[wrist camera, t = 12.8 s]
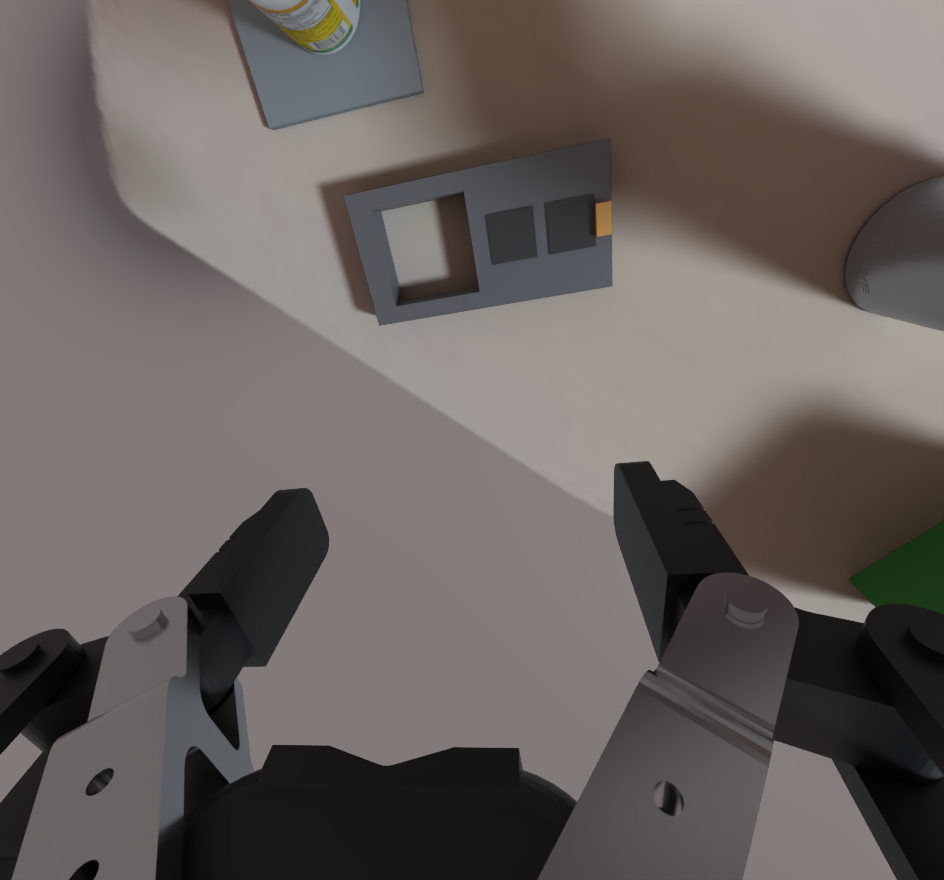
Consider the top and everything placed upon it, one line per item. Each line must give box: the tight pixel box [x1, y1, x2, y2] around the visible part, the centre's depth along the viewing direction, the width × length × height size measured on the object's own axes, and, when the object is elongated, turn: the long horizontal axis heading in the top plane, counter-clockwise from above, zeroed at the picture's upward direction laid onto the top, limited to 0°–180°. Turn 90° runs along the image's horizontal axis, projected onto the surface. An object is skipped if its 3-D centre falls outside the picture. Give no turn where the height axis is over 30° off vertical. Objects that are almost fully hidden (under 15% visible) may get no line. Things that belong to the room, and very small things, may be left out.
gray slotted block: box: [344, 138, 612, 326], centre depth 30 cm, size 18×9×3 cm, turn 100°
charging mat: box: [227, 0, 424, 130], centre depth 25 cm, size 11×11×1 cm
